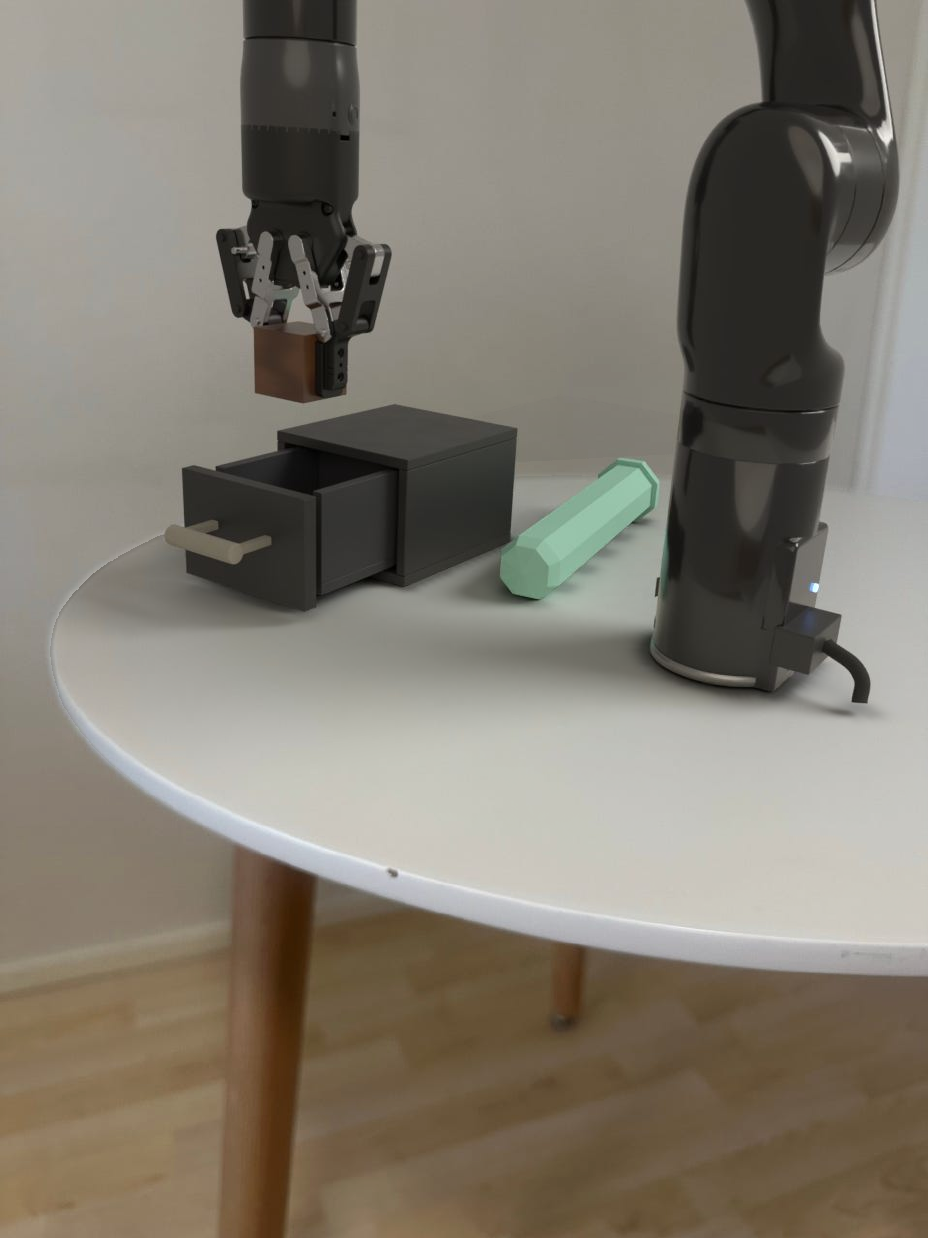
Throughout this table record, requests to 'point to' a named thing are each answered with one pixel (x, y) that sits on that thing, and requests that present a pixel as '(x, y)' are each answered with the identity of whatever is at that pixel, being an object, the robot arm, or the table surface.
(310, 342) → the block
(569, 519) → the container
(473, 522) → the small storage cabinet
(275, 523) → the drawer
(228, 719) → the table surface
